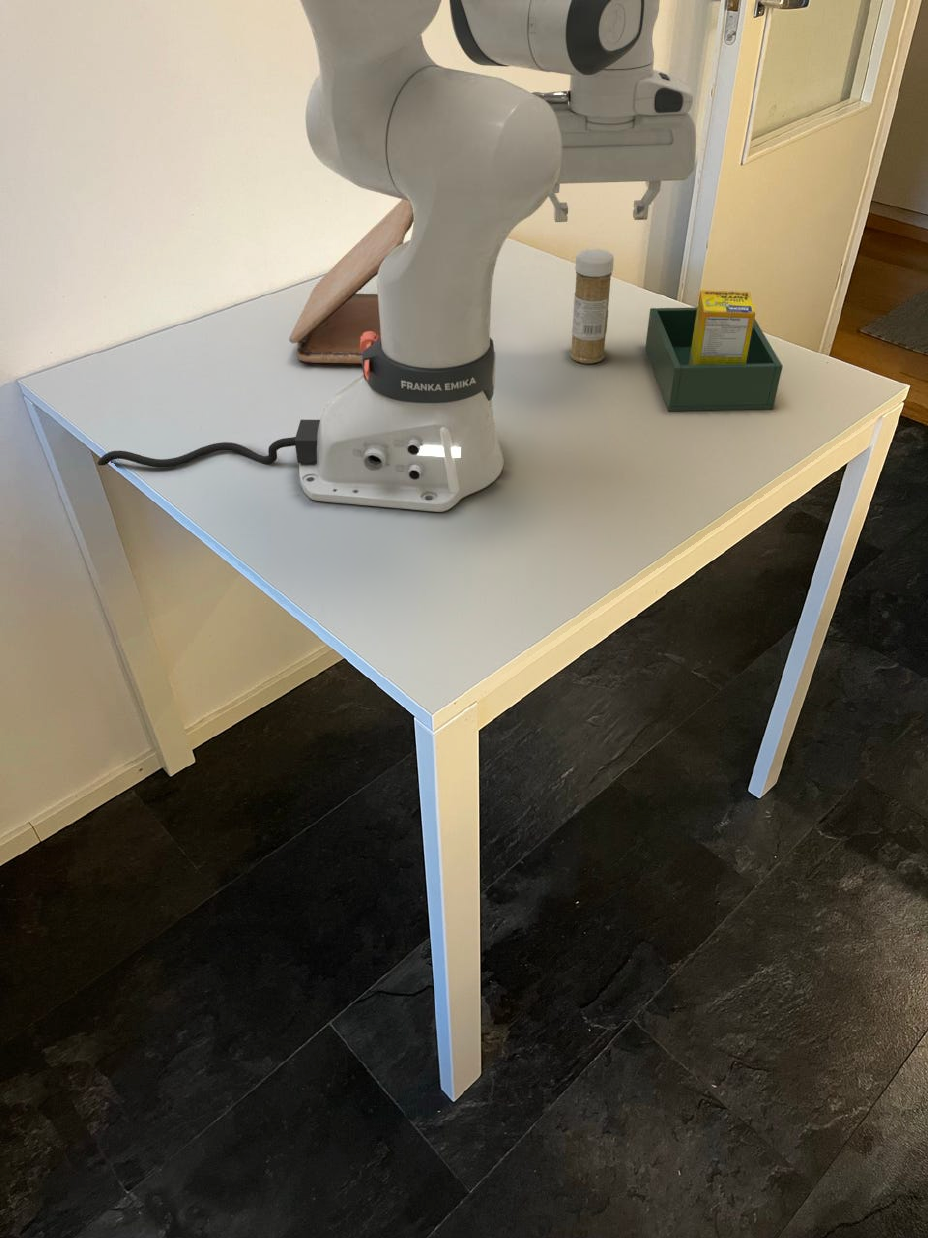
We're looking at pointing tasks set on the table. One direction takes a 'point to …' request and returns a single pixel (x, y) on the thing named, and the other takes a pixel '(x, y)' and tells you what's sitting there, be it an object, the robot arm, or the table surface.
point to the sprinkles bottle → (591, 305)
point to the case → (349, 296)
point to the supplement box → (722, 328)
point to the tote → (708, 368)
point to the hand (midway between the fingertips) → (600, 219)
